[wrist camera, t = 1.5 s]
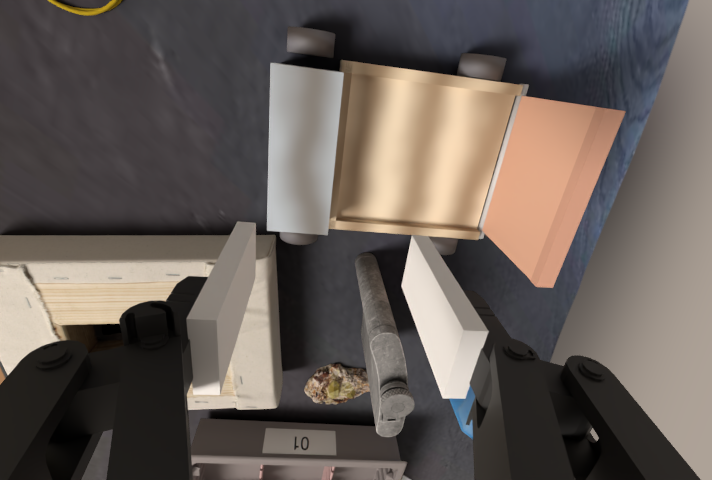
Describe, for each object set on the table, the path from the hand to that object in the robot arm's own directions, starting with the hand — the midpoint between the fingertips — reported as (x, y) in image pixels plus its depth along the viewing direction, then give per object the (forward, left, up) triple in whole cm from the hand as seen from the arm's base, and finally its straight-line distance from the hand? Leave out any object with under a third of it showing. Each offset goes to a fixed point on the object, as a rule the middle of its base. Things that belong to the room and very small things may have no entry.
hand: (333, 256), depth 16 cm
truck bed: (-3, +6, -27) cm, 28 cm away
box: (+30, -8, -28) cm, 42 cm away
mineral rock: (+30, +20, -28) cm, 46 cm away
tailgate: (-8, +18, -24) cm, 31 cm away
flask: (+15, +16, -27) cm, 35 cm away
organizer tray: (+58, +26, -27) cm, 69 cm away
